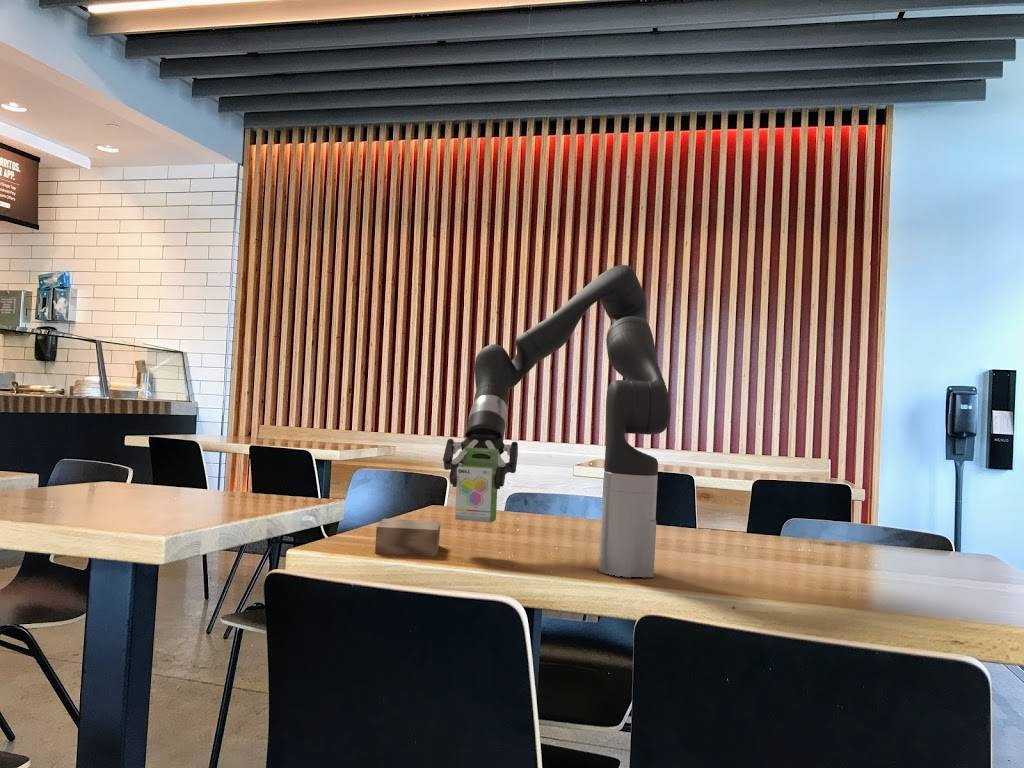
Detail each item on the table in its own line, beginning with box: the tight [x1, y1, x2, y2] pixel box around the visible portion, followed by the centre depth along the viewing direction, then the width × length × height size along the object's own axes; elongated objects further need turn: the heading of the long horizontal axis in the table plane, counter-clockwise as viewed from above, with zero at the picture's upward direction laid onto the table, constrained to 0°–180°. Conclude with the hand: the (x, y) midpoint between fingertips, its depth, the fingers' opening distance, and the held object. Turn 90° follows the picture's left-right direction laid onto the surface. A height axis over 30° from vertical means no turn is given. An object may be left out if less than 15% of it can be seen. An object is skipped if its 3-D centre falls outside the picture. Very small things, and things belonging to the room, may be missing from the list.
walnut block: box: [374, 518, 441, 557], centre depth 150 cm, size 11×11×5 cm
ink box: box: [454, 447, 499, 523], centre depth 150 cm, size 7×4×13 cm, turn 73°
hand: (475, 485), depth 149 cm, fingers closed on ink box, 7 cm apart
